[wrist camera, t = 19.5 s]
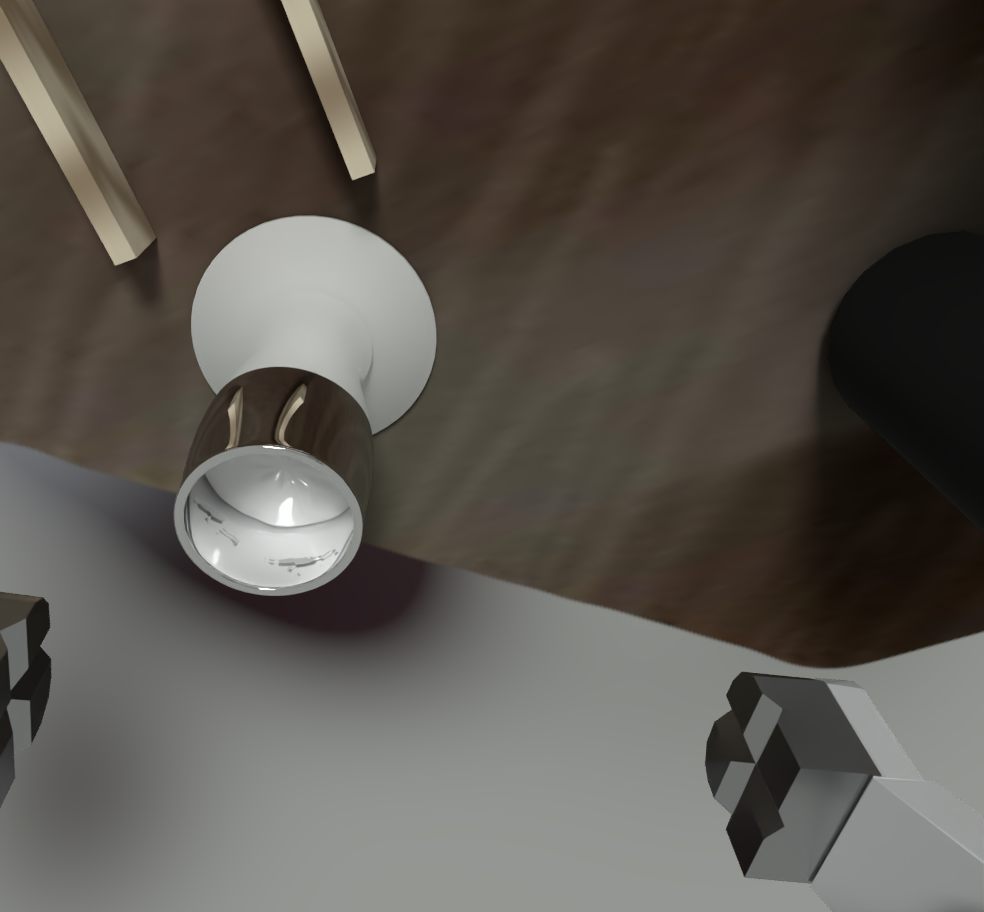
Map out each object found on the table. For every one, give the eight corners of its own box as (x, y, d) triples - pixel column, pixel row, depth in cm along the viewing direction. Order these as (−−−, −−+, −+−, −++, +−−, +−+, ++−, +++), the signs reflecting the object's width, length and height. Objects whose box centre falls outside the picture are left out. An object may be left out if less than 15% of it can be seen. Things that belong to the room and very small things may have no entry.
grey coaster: (456, 240, 42) (456, 242, 42) (414, 456, 48) (414, 460, 47) (199, 192, 40) (197, 194, 40) (186, 424, 45) (185, 427, 45)
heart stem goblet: (331, 432, 46) (300, 628, 33) (212, 360, 43) (130, 544, 31) (409, 334, 44) (407, 507, 31) (288, 252, 41) (231, 403, 28)
